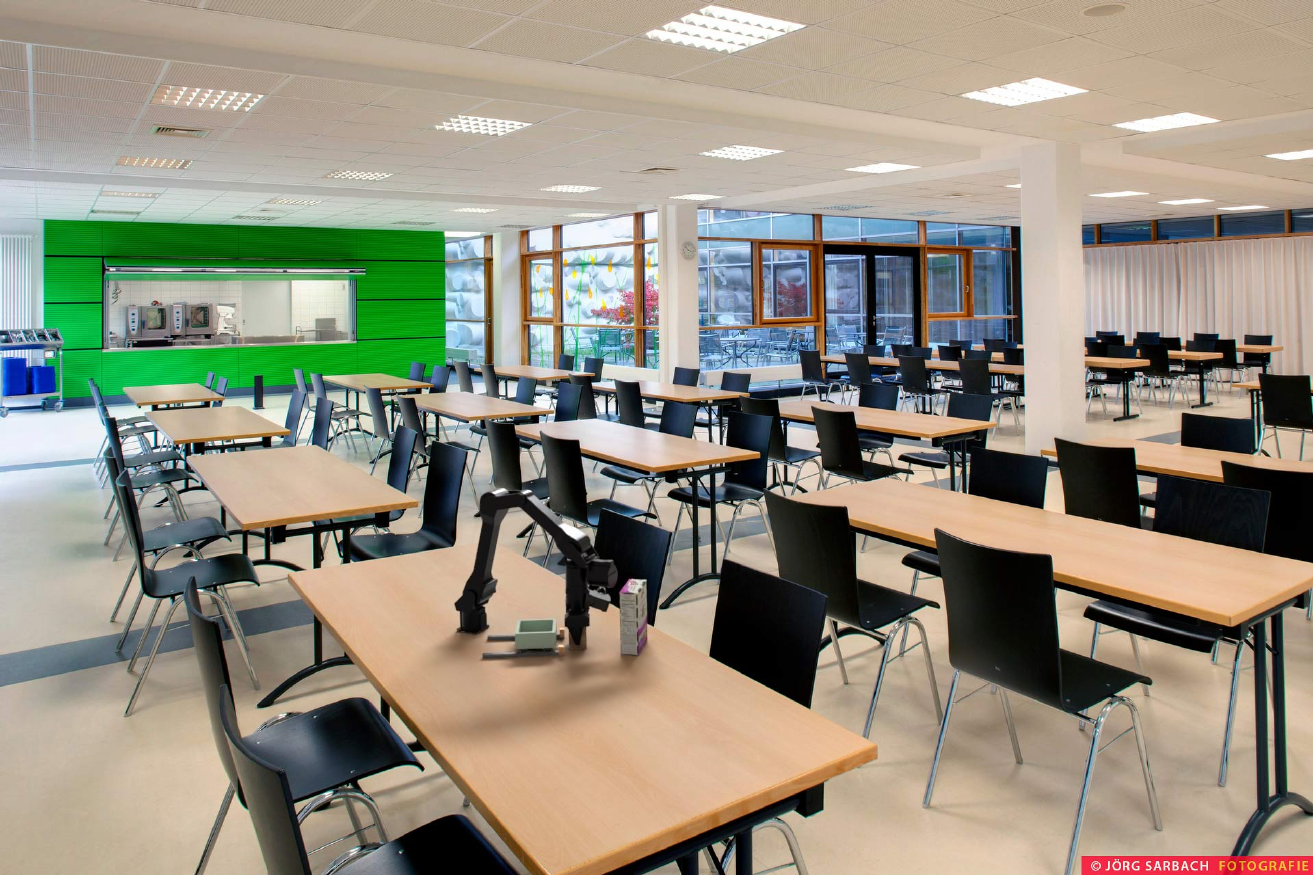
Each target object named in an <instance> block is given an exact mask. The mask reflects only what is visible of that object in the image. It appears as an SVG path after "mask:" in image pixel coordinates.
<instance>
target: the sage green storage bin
mask: <svg viewBox="0 0 1313 875" xmlns="http://www.w3.org/2000/svg"><path fill="white" fill-rule="evenodd" d="M557 623H558V622H557V618H531V619H530V618H529V619H528V618H527V619H517V622H516V627H515V632H514V635H515V640H514V642H515V645H514V646H515V648H514V649H515V650H518V652H529V649H542V651H553V649H556V646H557V638H556V636H557V633H558V630H557V628H558V627H557Z"/></svg>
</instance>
